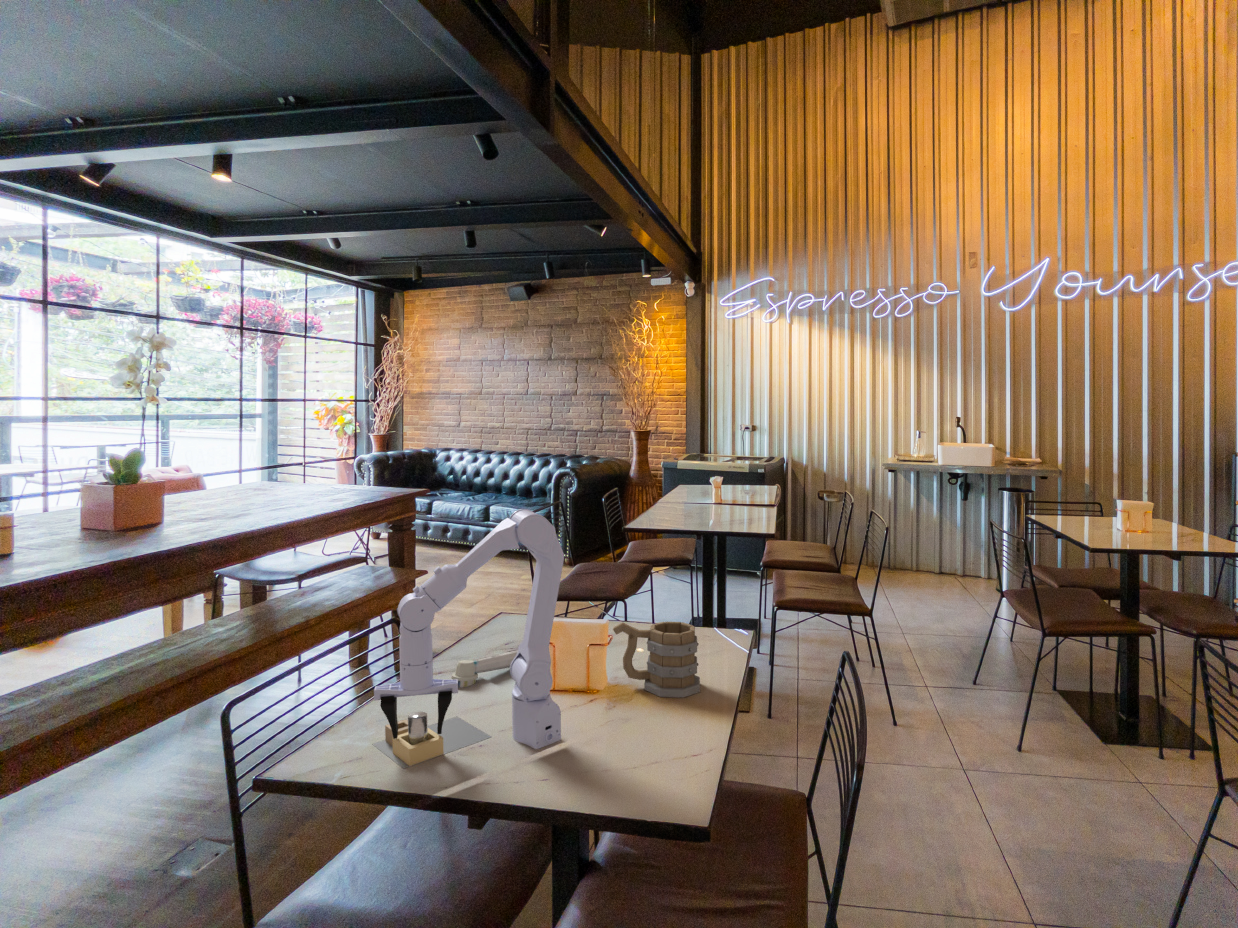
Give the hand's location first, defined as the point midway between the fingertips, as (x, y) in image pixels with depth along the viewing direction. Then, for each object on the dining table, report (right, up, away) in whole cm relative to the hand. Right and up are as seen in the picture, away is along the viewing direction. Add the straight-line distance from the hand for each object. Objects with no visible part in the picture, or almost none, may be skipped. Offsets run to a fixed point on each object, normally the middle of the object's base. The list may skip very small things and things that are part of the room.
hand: (417, 733), depth 127 cm
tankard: (+45, -3, +35) cm, 57 cm away
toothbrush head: (+7, -3, +42) cm, 43 cm away
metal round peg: (0, -4, 0) cm, 4 cm away
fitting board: (+1, -4, +6) cm, 7 cm away
